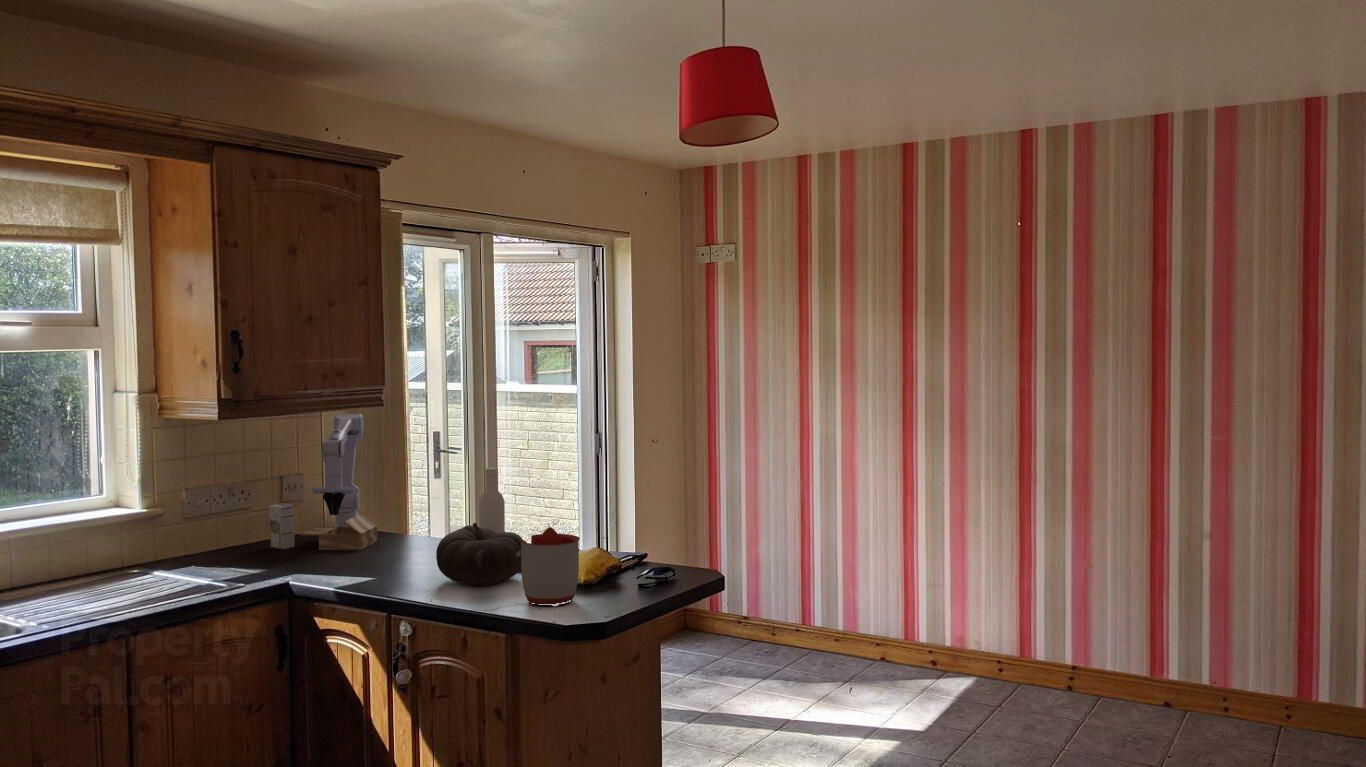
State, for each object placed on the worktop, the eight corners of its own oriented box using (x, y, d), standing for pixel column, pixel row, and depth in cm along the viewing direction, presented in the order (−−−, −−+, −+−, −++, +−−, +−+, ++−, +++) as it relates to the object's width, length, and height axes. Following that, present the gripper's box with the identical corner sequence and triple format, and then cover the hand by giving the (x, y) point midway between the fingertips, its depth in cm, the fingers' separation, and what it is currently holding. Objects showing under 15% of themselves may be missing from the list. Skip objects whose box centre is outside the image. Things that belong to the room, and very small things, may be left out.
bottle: (475, 566, 320) (474, 469, 319) (485, 561, 328) (485, 466, 327) (499, 567, 318) (498, 470, 317) (509, 562, 326) (508, 467, 325)
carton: (318, 540, 363) (318, 526, 363) (377, 541, 362) (377, 527, 362) (298, 549, 347) (298, 534, 347) (359, 550, 346) (359, 535, 346)
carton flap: (360, 515, 361) (360, 514, 361) (376, 527, 361) (377, 526, 361) (343, 522, 347) (344, 521, 347) (360, 534, 346) (361, 533, 346)
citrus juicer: (533, 592, 286) (532, 520, 285) (590, 598, 279) (589, 524, 279) (503, 605, 271) (502, 529, 270) (562, 612, 265) (562, 533, 264)
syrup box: (295, 546, 352) (294, 504, 351) (280, 549, 347) (279, 506, 346) (284, 545, 355) (283, 502, 354) (269, 548, 350) (268, 505, 349)
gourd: (456, 560, 316) (462, 505, 313) (533, 576, 312) (540, 521, 309) (420, 587, 292) (426, 528, 289) (503, 605, 288) (511, 546, 285)
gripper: (307, 476, 350) (308, 516, 351) (349, 476, 349) (350, 516, 350) (316, 473, 357) (317, 513, 358) (357, 474, 356) (358, 513, 357)
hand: (334, 514), depth 354 cm, fingers closed
